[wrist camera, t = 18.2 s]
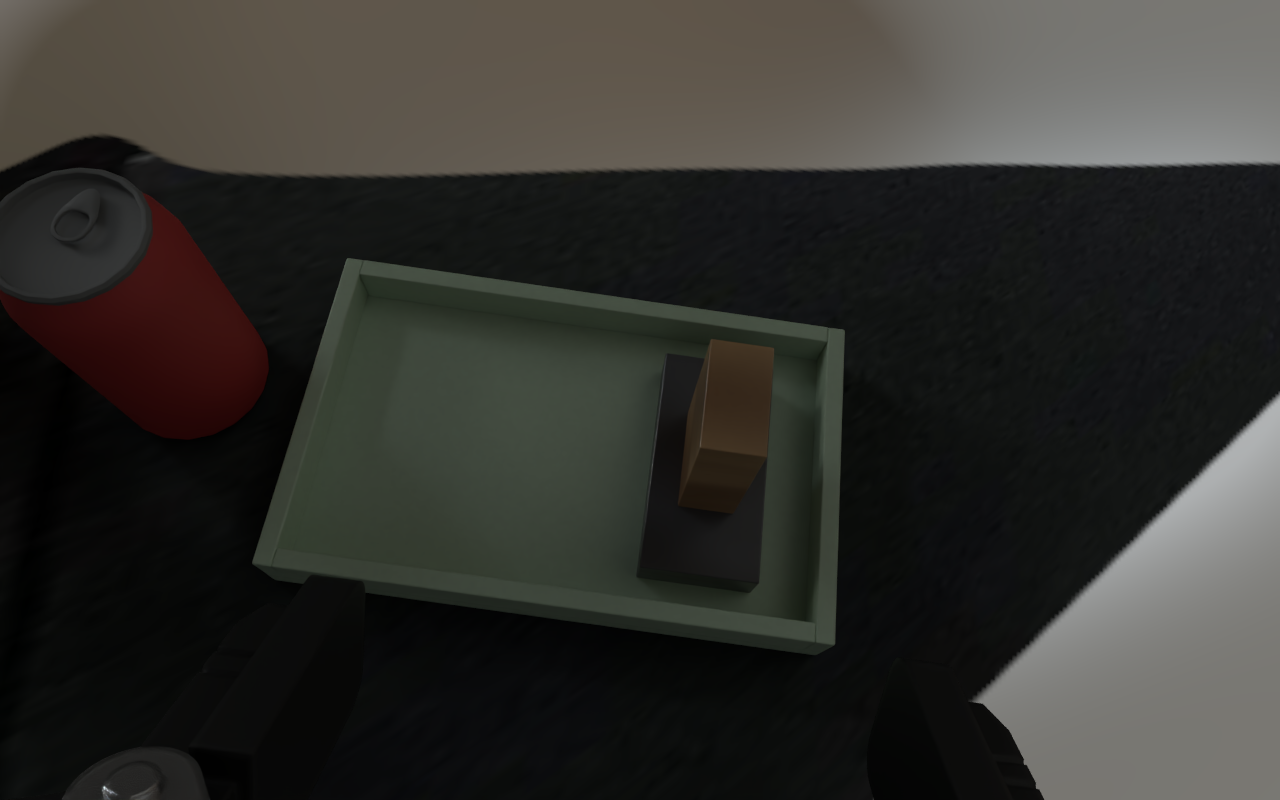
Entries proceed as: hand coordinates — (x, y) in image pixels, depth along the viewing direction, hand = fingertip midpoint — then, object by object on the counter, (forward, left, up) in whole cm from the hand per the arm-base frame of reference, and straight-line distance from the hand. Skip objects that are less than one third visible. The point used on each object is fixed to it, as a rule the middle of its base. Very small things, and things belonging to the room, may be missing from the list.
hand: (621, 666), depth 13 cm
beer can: (-24, +1, -25) cm, 35 cm away
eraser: (-3, +12, -24) cm, 27 cm away
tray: (-8, +9, -25) cm, 28 cm away
